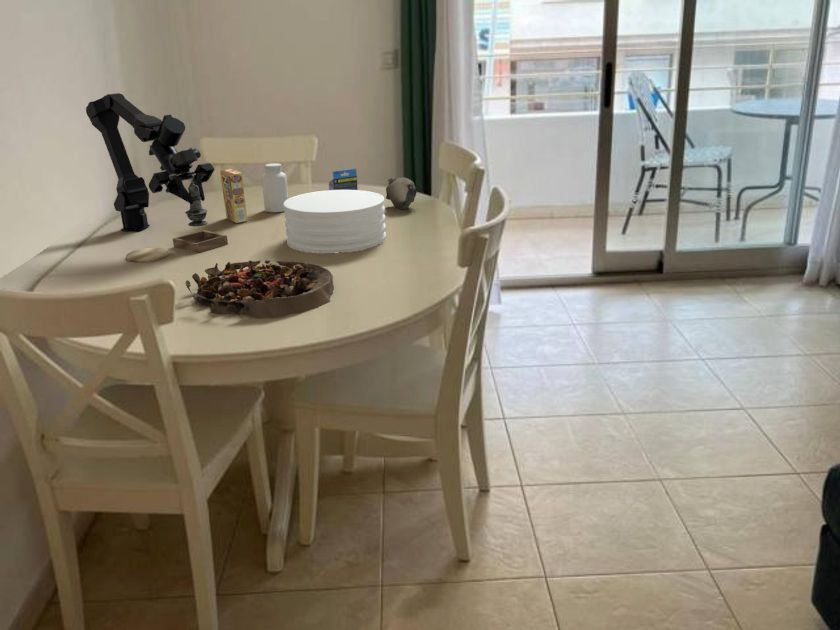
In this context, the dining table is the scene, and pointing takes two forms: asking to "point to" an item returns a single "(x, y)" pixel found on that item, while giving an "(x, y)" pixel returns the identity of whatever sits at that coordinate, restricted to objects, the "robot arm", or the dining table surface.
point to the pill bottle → (274, 188)
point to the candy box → (234, 195)
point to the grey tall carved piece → (196, 208)
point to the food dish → (264, 288)
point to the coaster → (147, 255)
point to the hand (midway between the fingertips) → (198, 201)
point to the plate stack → (335, 221)
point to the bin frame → (210, 237)
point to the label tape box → (344, 180)
